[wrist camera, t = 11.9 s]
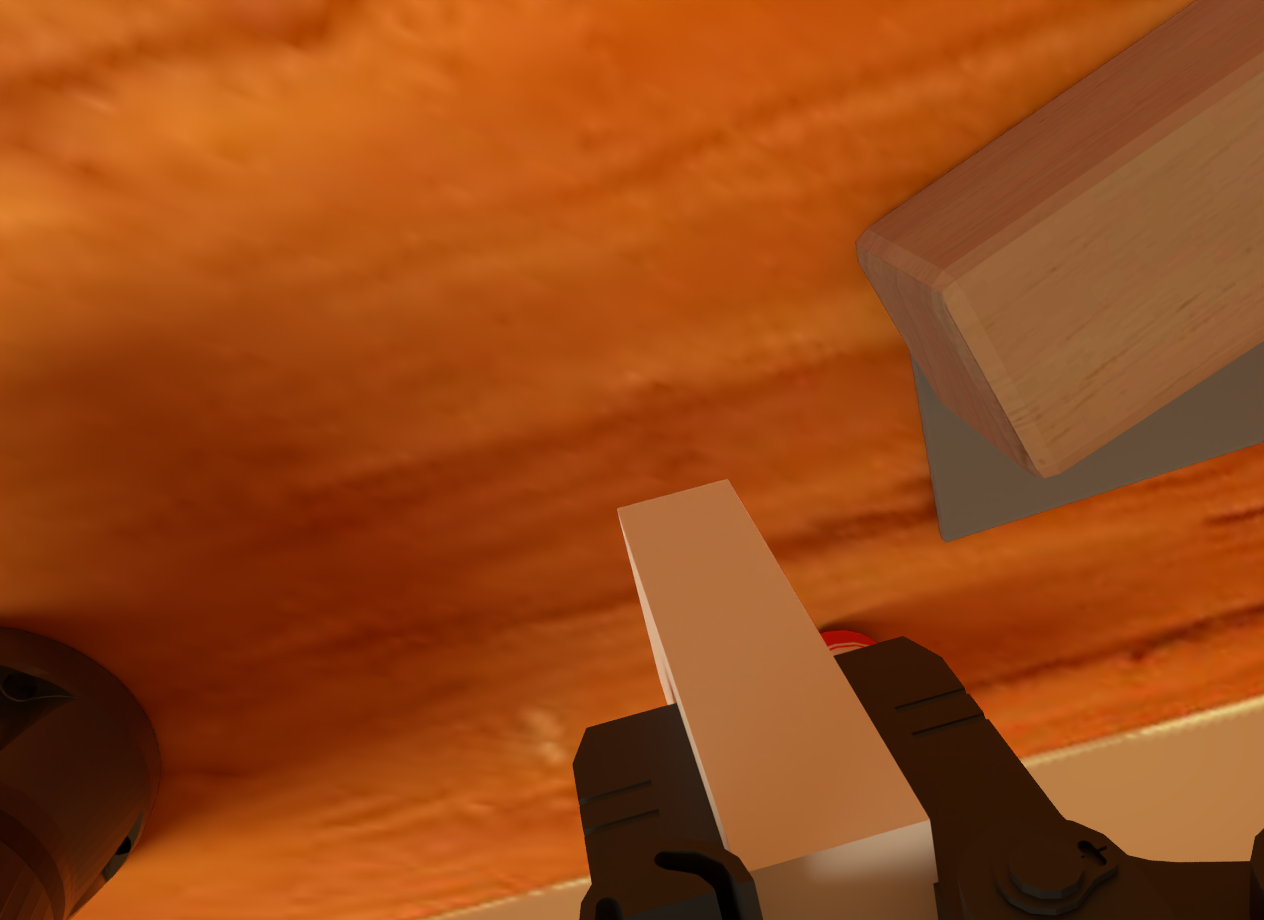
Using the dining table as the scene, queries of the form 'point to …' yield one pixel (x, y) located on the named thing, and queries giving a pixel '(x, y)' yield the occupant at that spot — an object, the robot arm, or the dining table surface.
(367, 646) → the dining table surface
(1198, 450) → the mat
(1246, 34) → the wooden block
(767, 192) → the dining table surface
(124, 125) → the dining table surface
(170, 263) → the dining table surface
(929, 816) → the robot arm
